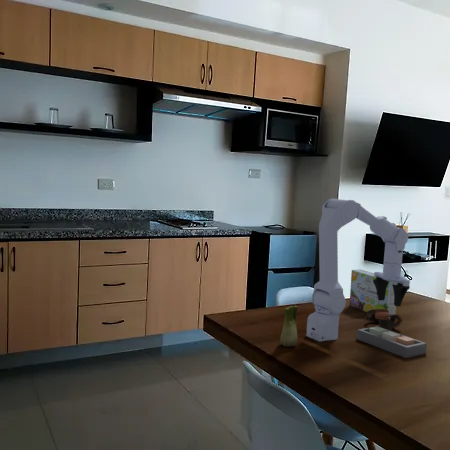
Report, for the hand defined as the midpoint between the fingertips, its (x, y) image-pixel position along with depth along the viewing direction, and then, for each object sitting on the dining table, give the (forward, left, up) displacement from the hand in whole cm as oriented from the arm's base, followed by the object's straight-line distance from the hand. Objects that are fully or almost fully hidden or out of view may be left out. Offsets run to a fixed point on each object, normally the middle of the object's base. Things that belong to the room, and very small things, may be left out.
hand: (389, 302), depth 165 cm
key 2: (-14, -18, -8) cm, 24 cm away
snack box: (+16, +20, -10) cm, 28 cm away
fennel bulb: (-41, +2, -10) cm, 42 cm away
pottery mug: (+1, +2, -10) cm, 11 cm away
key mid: (-14, -12, -8) cm, 20 cm away
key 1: (-14, -8, -8) cm, 18 cm away
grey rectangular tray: (-14, -13, -10) cm, 21 cm away
